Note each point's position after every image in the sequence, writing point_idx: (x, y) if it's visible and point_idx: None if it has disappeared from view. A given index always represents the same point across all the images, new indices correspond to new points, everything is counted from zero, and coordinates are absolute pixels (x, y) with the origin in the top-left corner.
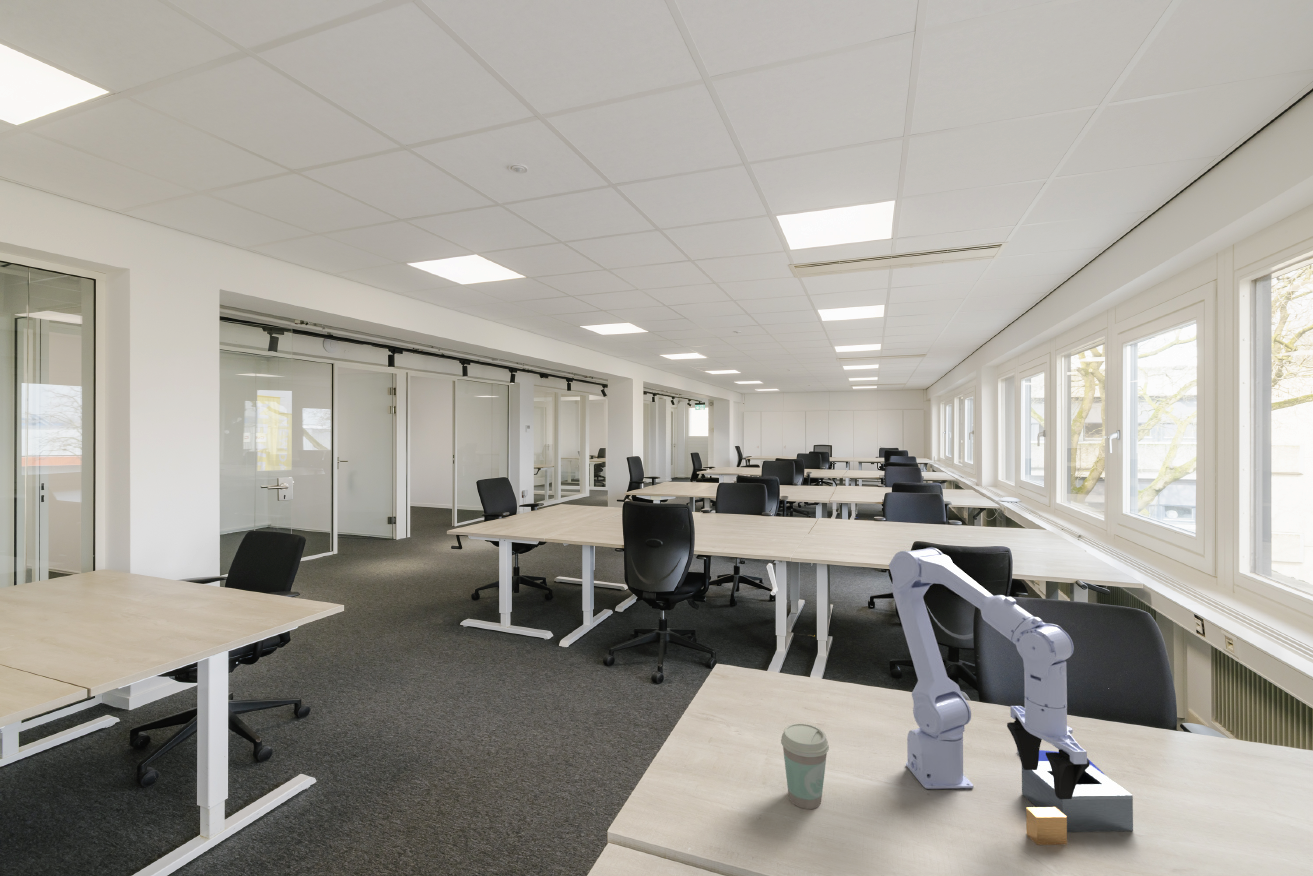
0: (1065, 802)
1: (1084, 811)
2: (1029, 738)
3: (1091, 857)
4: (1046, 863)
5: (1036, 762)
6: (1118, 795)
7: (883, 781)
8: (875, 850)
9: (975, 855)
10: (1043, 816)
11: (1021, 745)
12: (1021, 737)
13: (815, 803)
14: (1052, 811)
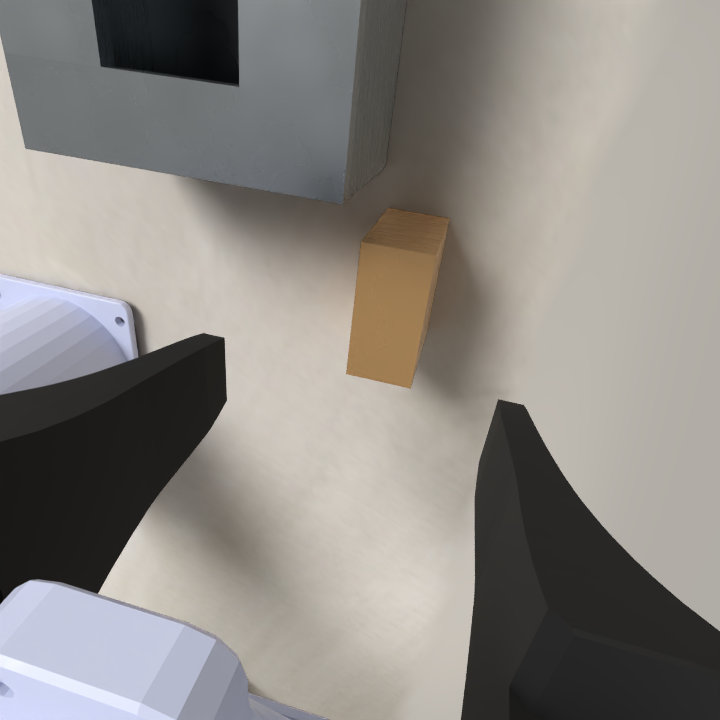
0: (354, 181)
1: (378, 49)
2: (84, 521)
3: (538, 185)
4: (509, 378)
5: (199, 364)
6: None
7: None
8: (369, 668)
9: (426, 524)
10: (410, 356)
11: (131, 522)
12: (89, 576)
13: None
14: (387, 287)
